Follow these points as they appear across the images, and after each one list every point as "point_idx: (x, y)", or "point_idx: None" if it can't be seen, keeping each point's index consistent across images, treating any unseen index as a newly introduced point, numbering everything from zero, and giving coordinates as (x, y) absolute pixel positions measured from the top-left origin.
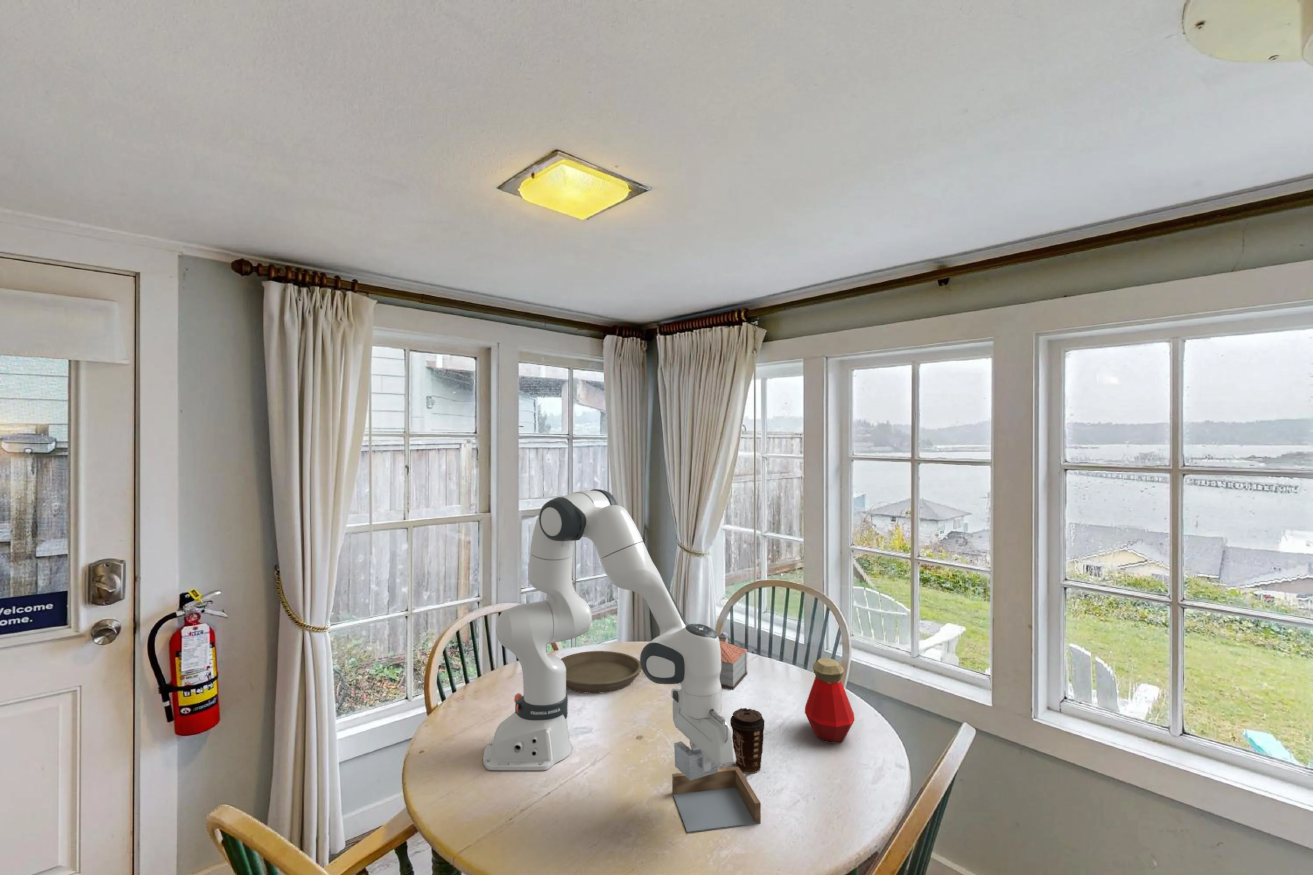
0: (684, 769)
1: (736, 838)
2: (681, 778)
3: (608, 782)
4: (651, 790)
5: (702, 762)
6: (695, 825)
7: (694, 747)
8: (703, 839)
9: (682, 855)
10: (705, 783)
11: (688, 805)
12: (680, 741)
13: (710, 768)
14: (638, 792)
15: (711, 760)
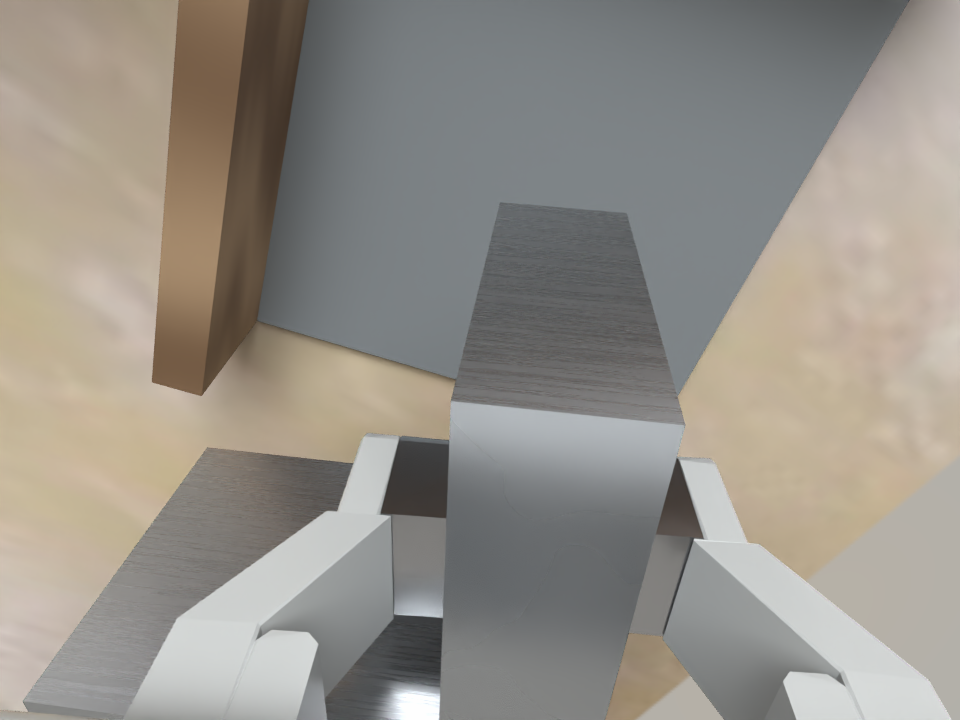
0: None
1: (932, 192)
2: (219, 319)
3: (9, 556)
4: (152, 405)
5: (671, 633)
6: None
7: (324, 669)
8: (763, 385)
9: (777, 530)
10: (277, 59)
11: (423, 295)
12: (32, 709)
13: (715, 466)
14: (153, 474)
15: (789, 572)
